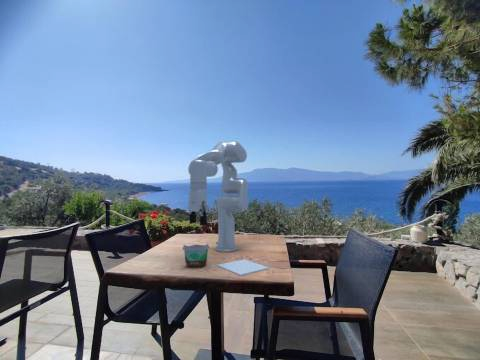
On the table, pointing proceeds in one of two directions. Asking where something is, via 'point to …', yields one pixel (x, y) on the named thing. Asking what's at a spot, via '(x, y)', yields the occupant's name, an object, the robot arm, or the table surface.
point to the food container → (196, 255)
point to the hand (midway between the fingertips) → (197, 224)
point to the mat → (242, 267)
